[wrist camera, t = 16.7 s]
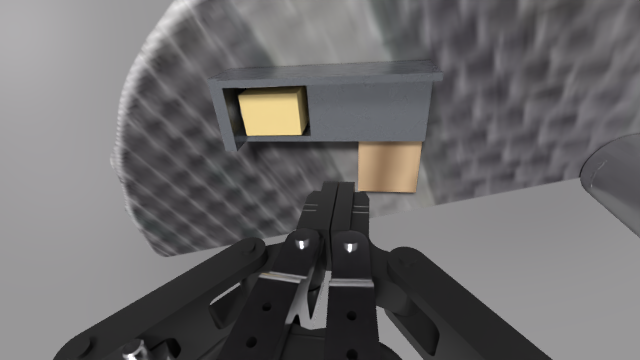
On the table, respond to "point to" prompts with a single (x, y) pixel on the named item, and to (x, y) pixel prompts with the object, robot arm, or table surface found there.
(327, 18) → the table surface
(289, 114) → the yellow block with dome
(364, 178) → the pad
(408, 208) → the table surface
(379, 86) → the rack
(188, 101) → the table surface
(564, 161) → the table surface
